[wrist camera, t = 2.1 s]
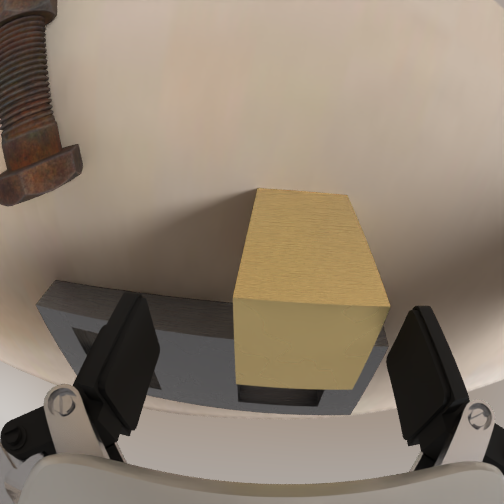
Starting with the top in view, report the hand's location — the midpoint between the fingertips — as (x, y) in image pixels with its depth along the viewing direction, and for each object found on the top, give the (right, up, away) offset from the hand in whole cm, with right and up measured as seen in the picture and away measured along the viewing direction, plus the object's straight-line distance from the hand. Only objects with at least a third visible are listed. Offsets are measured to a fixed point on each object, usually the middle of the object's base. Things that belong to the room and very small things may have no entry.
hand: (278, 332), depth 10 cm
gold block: (+2, +4, +6) cm, 7 cm away
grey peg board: (-5, -4, +12) cm, 13 cm away
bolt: (-13, +14, +1) cm, 19 cm away
